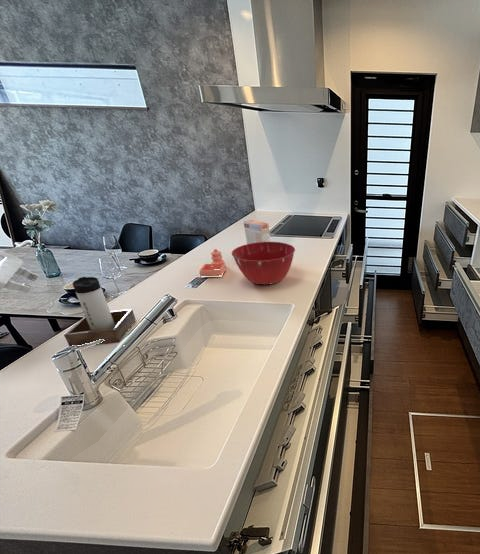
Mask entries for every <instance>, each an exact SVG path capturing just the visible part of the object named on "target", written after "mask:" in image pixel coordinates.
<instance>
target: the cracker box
mask: <svg viewBox="0 0 480 554" xmlns="http://www.w3.org/2000/svg"><path fill="white" fill-rule="evenodd" d="M269 226H270V225H269V222H264V221H258V220H253V219H249V220H245V221H243V227H244V234H245V241H246V244H251V243H258V242H271V236H270V228H269Z"/></svg>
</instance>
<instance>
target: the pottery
mask: <svg viewBox="0 0 480 554" xmlns="http://www.w3.org/2000/svg"><path fill="white" fill-rule="evenodd" d="M210 255H211V257H210V258H211V260H212V261H211V263H204V264H203V265H202V267H201V268H200V269H199V276H200V278H201V276H219V275H222V273H223V272H224V270H225V268H226V262H225V261H224V260H223V255H222V252H221V251H220V250H218V249H217V248H214V249H213V250H212V251H211V252H210ZM214 269H220V270H214Z"/></svg>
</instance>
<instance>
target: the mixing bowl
mask: <svg viewBox="0 0 480 554" xmlns="http://www.w3.org/2000/svg"><path fill="white" fill-rule="evenodd" d="M295 252H296V248H295V247H294V246H293V245H291V244H290V243H286V242H280V241H270V242H258V243H251V244H247V243H245V244H243V245H240V246H238V247H236V248H234V249H233V250H232V251H231V256H232V257H233V259H234V261H235V263H236V265H237V267H238V269H239V270H240V272H241V273H242V275H243V276H244V277H245V279H246V280H247V281H249V282H251V283H253V284H255V283H256V284H255V285H258V284H270V283H275V282H277V283H279V282H281V281H282V280H284V279H285V278H286V276H287V275H288V274H289V271H290V269H291V267H292V264H293V260H294V255H295ZM280 280H281V281H280ZM278 281H279V282H278ZM275 284H276V283H275Z"/></svg>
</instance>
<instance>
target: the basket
mask: <svg viewBox="0 0 480 554" xmlns="http://www.w3.org/2000/svg"><path fill="white" fill-rule="evenodd" d="M110 313H111V315H112V318H113V321H114V324H115V327H114V328H113V329H105V330H95V331H91V329H90V326H89V324H88V321H87V319H86V316H85V315H84V316H83V317H82V318H81V319H79V321H78V322H77V323H76V324H74V325H73V326H72V327H71V328H70V329H69V330H67V332H65V334H64V339H65V340H66V342H67V344H68V347H69V348H70V346H72V345H82V344H85V343H90V342H93V341H96V340H99V339H104V340H105V341H103V342H102V343H100V344H99V345H106V344H115V343H120V342H121V341H122V339H124V337H125V336H126V334H127V333H128V332H129V330H130V329H131V328H132V326H133V325H134V324H135V323H136V321H137V319H136V317H135V314H134V311H133V308H129V309H120V310H110ZM135 320H136V321H135ZM134 322H135V323H134ZM133 323H134V324H133ZM132 324H133V325H132ZM131 325H132V326H131ZM130 327H131V328H130ZM129 328H130V329H129ZM128 329H129V330H128ZM126 332H127V333H126Z"/></svg>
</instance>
